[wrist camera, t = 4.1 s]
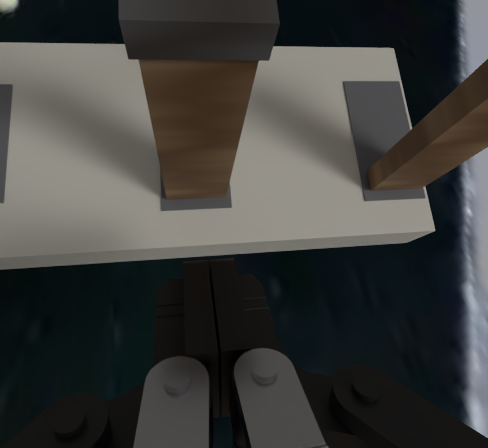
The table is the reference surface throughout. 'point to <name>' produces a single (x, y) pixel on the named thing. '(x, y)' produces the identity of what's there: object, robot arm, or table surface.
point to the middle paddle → (198, 82)
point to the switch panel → (244, 169)
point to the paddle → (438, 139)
